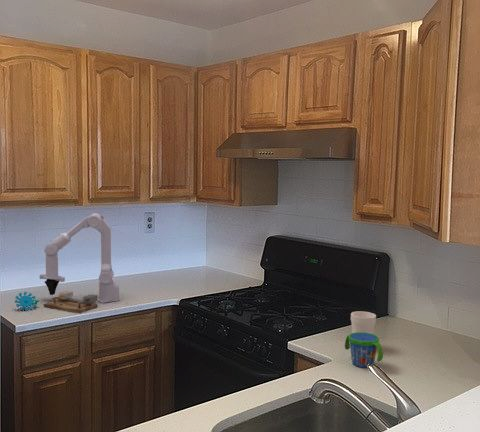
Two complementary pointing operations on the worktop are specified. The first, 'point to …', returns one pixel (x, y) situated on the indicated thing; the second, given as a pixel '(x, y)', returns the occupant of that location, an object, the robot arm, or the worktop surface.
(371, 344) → the snack cup
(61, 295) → the slider
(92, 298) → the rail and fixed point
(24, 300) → the gear
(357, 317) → the foam cup
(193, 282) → the worktop surface
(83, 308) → the hole board
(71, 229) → the robot arm
